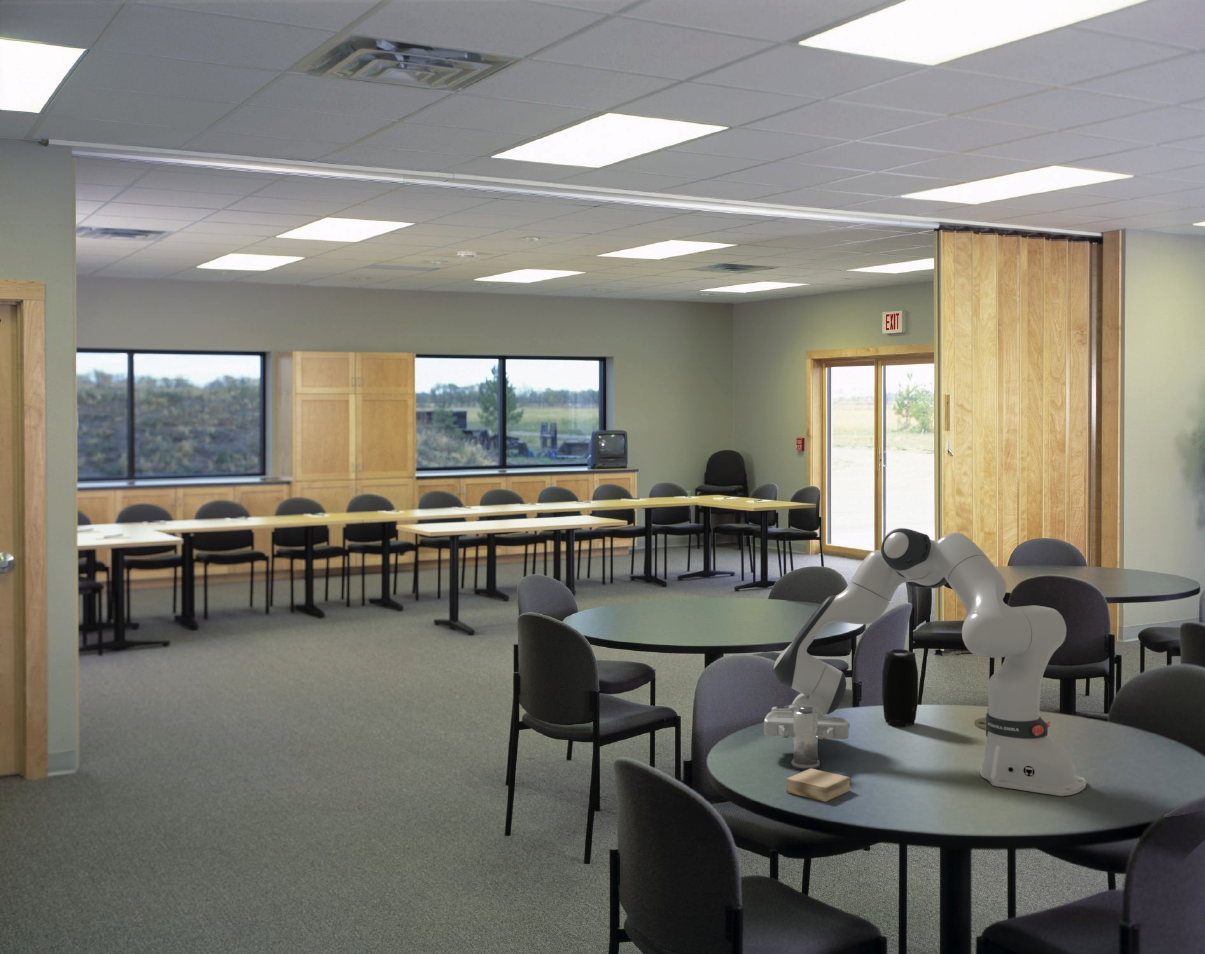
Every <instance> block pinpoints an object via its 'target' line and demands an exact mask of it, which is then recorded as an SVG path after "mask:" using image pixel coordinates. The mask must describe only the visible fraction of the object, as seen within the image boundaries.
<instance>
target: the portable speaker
mask: <svg viewBox="0 0 1205 954" xmlns="http://www.w3.org/2000/svg"><path fill="white" fill-rule="evenodd" d="M884 654H885V655H884V660H883V667H882V671H881V672H882V674H881V675H882V677H881V680H882V681H881V683H882V684H881V687H882V688H881V698H882V708H883V717H884V720H885V722H886V723H889V725H890V726H891V727H899V728H905V727H906V726H907V725H909V724H911V725H912V726H913V725H915V722H916V721H915V720H916V718H917V712H918V711H917V710H918V704H919V703H918V702H919V670H918V665H917V660H916V652H912V651H909V650H907V649H902V648H896V649H895V648H894V649H892V650H890V651H885V653H884Z"/></svg>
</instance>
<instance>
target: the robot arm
mask: <svg viewBox="0 0 1205 954" xmlns="http://www.w3.org/2000/svg"><path fill="white" fill-rule="evenodd" d="M905 583H907V585H908V586H910V587H917V588H924V589H938V588H942V587H943V586H945V585H946V584H947V583H948V585H949V586H950V587H951V589H952V590H953V592H954V593H955V595H956V596H957V597H958V600H960V602H961V603H962V605H963V606H964V609H965V611H966V618H965V619H964V621H963V623H962V628H961V636H962V641H963V644H964V646H965V648H966V649H967V650H968V651H969V653H971V654H973V655H974V656H978V657H984V658H992V659H994V658H995V659H999V658H1004V660H1003V662H1002V664H1001V666H1000V668H999V669H998V670H996V672H994V673H993V674H992V675H991V676H990V678H989V680H988V689H987V690H988V691H987V692H988V693H987V694H988V695H987V697H988V698H987V700H988V701H987V702H988V703H987V709H988V713H987V712H986V714H985V717H986V730H985V737H986V746H985V752H984V757H983V758H984V759H983V763H982V766H981V769H980V771H979V775H980V776H981V777H982V778H983V779H985V780H987V781H988V782H989V783H990V784H991V785H992V786H993V787H994V786H995V787H999V788H1006V789H1007V788H1008V789H1014V790H1019V791H1026V792H1032V793H1037V794H1038V793H1040V794H1045V795H1050V796H1051V795H1053V796H1059V797H1064V796H1071V795H1075V794H1078V793H1080V792H1082V791H1084V789H1085V788H1086V786H1087V781H1086V779H1085V778H1084V777H1083V776H1079V775H1077V773H1076V767H1075V762H1074V759H1073V756H1072V755H1071V754H1070V753H1069V752H1068V751H1067V750H1065V748H1063V747H1062V746H1061V745H1059V744H1058V743H1057V742H1056V741H1055V740H1054V739H1053V738H1051V736H1050V735H1048V733H1049V732H1048V731H1049V729H1048V728H1050V727H1051V725H1050V724H1051V721H1048V722H1046V721H1045V720H1044V719H1043V718H1042V717H1041V716H1040V707H1041V706H1040V704H1041V703H1040V702H1041V685H1042V681H1043V677H1044V673H1045V671H1046V669H1047V666H1048V664H1049V661H1050V660H1051V658H1052V657H1053V654H1055V652H1056V651H1057V650H1058V649H1059V647H1061V646H1062V644H1064V642H1065V641H1066V637H1067V625H1066V621H1065V619H1064V617H1063V615H1062V614H1061V613H1060V612H1059V611H1058V610H1057V609H1055V608H1052V607H1047V606H1041V605H1023V606H1010V605H1008V604H1007V603H1005V602H1004V598H1005V595H1006V594H1007V593H1006V592H1007V581H1006V579H1005V578H1004V577H1003V575H1002V574H1001V572H999V570H998V569H997V567H996V566H995V565H994V564H993V562H992V561H991V560H990V559H989V557H988V556H987V555H986V553H984V551H983V550H982V549H981V548H980V546H978V545H977V544H976V543H975V542H974V541H972V540H971V538H970V537H968V536H966V535H965V534H963V533H960V532H950V533H947V534H944V535H942V536H941V538H938V539H937V540H935V539H930V537H929V535H928V534H925V533H923V532H919V531H917V530H913V529H911V528H910V529H909V528H906V527H905V528H904V527H902V528H901V527H899V528H895V529H893V530H891V531H889V532H888V533H887V534H886V535H885V536H884V538H883V539H882V542H881V545H880V549H876V550H872V551H870V552H869V553H868V554H867V555H866V556H865V558H864V559H863V560H862V562H861V563H860V564H859V566H858V567H857V569H856V571H855V573H854V574H853V576H852V577H851V579H850V581H849V583H848V585H847V586H846V588H845V589H844V590H843V591H841V592H840V593H839V594H837V595H828V597H827V598H825V600H824V601H823V602H822V603H821V604H820V605H819V606H818V608H817V609H816V610H815V611H814V612H813V614H812V615H811V617H810V618H809V619H808V621H806V623H805V624H804V625H803V627H802V628H801V629H800V631H799V632H798V633H797V635H796V636H795V637H794V639H793V640H792V641H791V643H789V645H788V646H787V647H786V648H785V649H784V650H783V651H782V652H781V653H780V654H779V656H778V657H777V658H776V660H775V663H774V666H773V670H772V671H773V675H774V677H775V679H776V680H777V683H778V684H780V685H782V686H786V687H787V688H790V689H793V690H795V691H796V692H799V694H798V695H797V696H796V697H795V698H794V700H793V701H792V703H791V704H789V705H780V706H779V705H778V706H773V707H772V708H771V711H770V712H768V713H767V714H766V716H765V717H764V720H763V734H764V735H765V736H768V737H769V736H770V737H771V736H774V737H781V738H783V739H789V737H792V738H794V711H795V710H799V707H801V706H808V707H812V710H815V711H817V712H818V739H822V740H825V741H828V740H829V741H830V739H837V740H846V739H848V738H849V735H850V733H849V730H850V727H851V724H850V722H848V720H846V719H845V718H843V717H839V716H838V717H835V716H826V715H829V714H832V713H833V712H835V711H836V710H837V709H838V708H839V705H841V702H842V700H843V698H844V695H845V692H846V689H847V678H846V676H845V674H844V672H843V671H842V670H839V669H838V668H836V667H834V666H833V665H831V664H829V663H828V662H824V661H823V660H821V659H818V658H817V657H815V656H813V655H811V654H810V653H808V651H807V650H808V648H809V646H810V645H812V643H813V642H814V640H815V639H816V637H817V636H818V635H819V633H821V630H822V629H823V628H824V627H825V626H827V625H829V624H831V623H845V624H852V625H869V624H873V623H875V622H877V621H879V619H881V617H882V616H883V614H884V613H885V612H886V610H887V608H888V606H889V605H890V602H891V601H892V598H893V597H894V594H895V592H896V591H897V589H898V588H899V587H900V585H903V584H905Z"/></svg>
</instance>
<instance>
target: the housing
mask: <svg viewBox="0 0 1205 954" xmlns="http://www.w3.org/2000/svg"><path fill="white" fill-rule="evenodd" d="M818 739H819V738H818V712H817V711H815V710H812V707H808V706H801V707H799V710H795V711H794V737H793V759H791V768H792V769H794V770H797V771H802V772H803V771H805V770H808V769H810V768H811V769H816V770H820V769H821V768H820V767H821V763H820V762H821V761H820V760H819V757H818V755H819V754H818V750H819V749H818V747H819V746H818V745H819V743H818V741H819V740H818Z"/></svg>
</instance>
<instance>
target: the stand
mask: <svg viewBox="0 0 1205 954" xmlns="http://www.w3.org/2000/svg"><path fill="white" fill-rule="evenodd" d="M850 779H851V778H850V776H847V775H843V774H842V775H841V774H838V773H832V772H829V771H824V770H820V769H817V770H816V769H811V768H810V769H808V770H805V771H803V770H802V771H801V772H799V773H796V774H794V775H792V776H789V777H786V779H785V792H786V793H787V794H788V793H789V794H792V795H797V796H801V797H805V798H810V799H813V800H817V801H819V802H821V801H822V802H825V803H826V802H828V801H830V800H833V799H834V798H835V799H836V798H837V797H840V796H841V795H843V794H845V793H848V792H850V791H851V789H850V784H851V783H850V781H851V780H850Z"/></svg>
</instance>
